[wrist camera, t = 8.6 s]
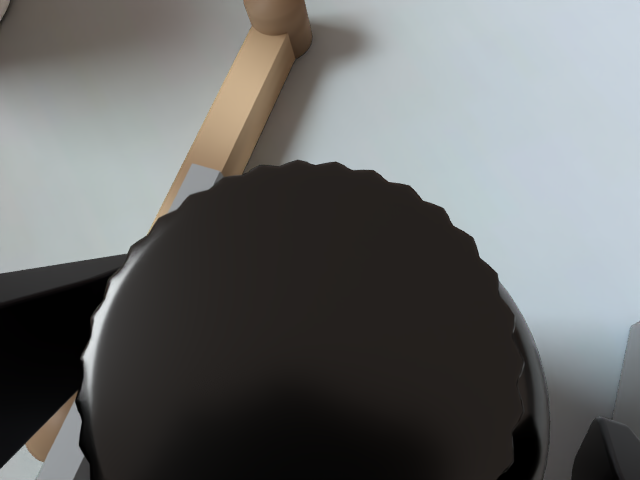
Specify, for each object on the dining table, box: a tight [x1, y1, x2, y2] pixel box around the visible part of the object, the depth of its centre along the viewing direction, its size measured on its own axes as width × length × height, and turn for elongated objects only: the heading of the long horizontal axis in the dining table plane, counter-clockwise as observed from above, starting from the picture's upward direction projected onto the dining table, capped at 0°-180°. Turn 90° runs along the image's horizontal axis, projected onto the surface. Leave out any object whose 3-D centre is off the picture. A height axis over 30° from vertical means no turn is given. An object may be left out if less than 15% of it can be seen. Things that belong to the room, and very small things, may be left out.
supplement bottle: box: [75, 160, 550, 480], centre depth 11 cm, size 7×7×12 cm
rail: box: [25, 0, 312, 462], centre depth 19 cm, size 18×2×2 cm, turn 159°
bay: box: [35, 163, 640, 480], centre depth 15 cm, size 13×15×3 cm
